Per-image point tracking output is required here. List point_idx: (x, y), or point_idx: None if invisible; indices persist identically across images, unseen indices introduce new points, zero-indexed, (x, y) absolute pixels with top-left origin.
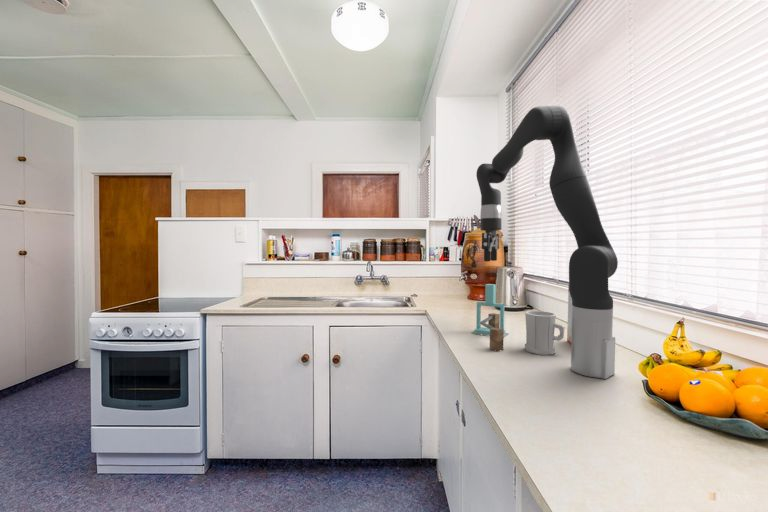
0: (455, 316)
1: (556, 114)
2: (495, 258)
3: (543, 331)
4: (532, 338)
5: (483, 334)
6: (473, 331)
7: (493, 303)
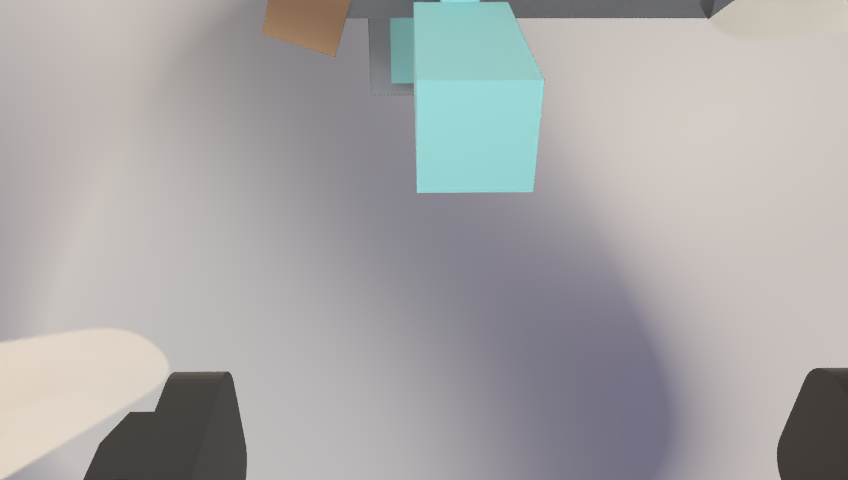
0: (55, 346)
1: None
2: (217, 425)
3: None
4: None
5: None
6: None
7: (499, 2)
